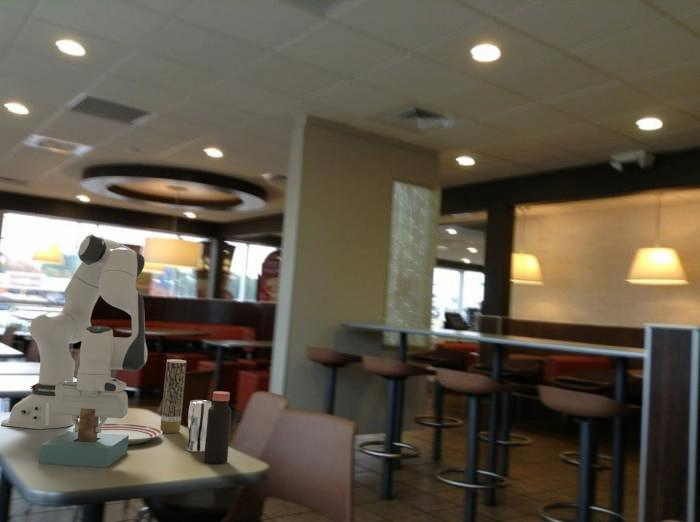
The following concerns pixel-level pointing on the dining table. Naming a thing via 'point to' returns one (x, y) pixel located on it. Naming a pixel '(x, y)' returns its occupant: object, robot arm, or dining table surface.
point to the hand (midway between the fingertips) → (87, 432)
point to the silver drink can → (197, 425)
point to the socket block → (83, 450)
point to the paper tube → (173, 396)
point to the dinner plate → (131, 431)
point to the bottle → (218, 429)
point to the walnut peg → (87, 426)
